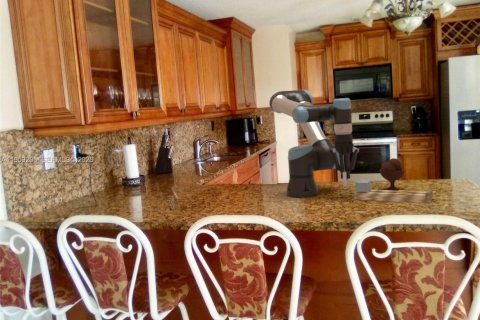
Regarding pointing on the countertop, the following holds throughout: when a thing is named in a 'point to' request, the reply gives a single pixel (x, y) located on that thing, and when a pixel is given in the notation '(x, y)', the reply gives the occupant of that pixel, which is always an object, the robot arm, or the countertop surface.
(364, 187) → the rider
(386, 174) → the ice cream bowl
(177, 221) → the countertop surface
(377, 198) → the rail
